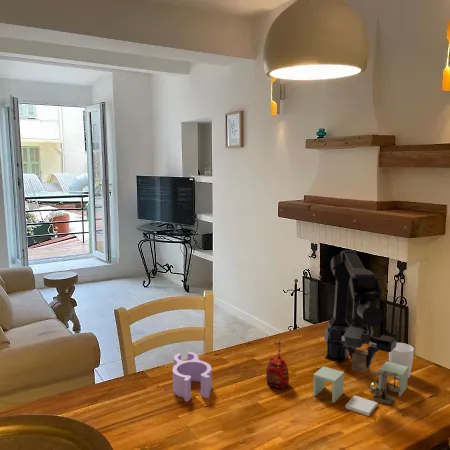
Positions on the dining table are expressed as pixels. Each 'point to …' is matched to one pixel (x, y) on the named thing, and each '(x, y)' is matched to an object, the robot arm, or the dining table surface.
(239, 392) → the dining table surface
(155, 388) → the dining table surface
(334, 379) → the green cover left
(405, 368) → the green cover right
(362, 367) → the walnut block
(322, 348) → the dining table surface
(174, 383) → the clip
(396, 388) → the bronze balance
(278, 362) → the red clay folk toy
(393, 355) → the white cup
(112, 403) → the dining table surface
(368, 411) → the grey ceramic tile
